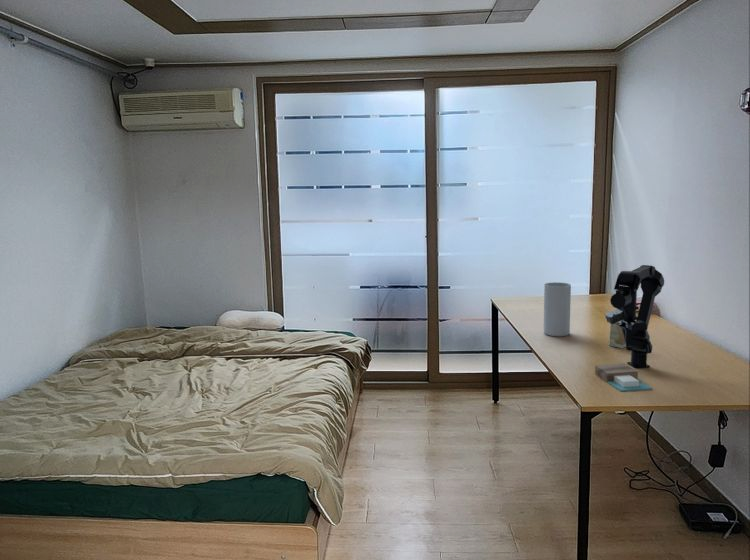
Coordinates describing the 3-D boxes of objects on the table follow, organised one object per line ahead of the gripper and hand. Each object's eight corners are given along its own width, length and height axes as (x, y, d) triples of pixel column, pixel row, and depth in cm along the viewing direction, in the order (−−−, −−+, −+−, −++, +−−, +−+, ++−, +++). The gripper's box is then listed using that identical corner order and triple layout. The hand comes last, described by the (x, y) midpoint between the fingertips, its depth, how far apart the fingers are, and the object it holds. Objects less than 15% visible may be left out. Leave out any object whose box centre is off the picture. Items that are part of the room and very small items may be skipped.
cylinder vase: (572, 336, 288) (574, 286, 284) (547, 337, 289) (548, 287, 285) (565, 330, 301) (566, 282, 297) (540, 330, 301) (541, 282, 297)
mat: (607, 382, 223) (607, 381, 223) (637, 380, 224) (638, 379, 224) (620, 391, 213) (620, 390, 213) (652, 389, 214) (652, 388, 214)
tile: (613, 380, 223) (614, 375, 223) (629, 379, 224) (629, 374, 223) (623, 386, 216) (623, 381, 216) (638, 386, 217) (639, 380, 216)
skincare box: (608, 345, 271) (609, 320, 269) (613, 344, 274) (614, 318, 272) (622, 348, 266) (623, 322, 264) (627, 346, 269) (628, 320, 267)
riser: (594, 374, 233) (595, 365, 232) (623, 372, 234) (624, 363, 233) (607, 382, 223) (607, 373, 223) (637, 380, 224) (637, 371, 224)
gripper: (597, 299, 236) (596, 337, 239) (620, 310, 218) (619, 350, 221) (623, 297, 237) (622, 335, 240) (649, 308, 219) (647, 348, 222)
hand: (627, 342), depth 231 cm, fingers closed
